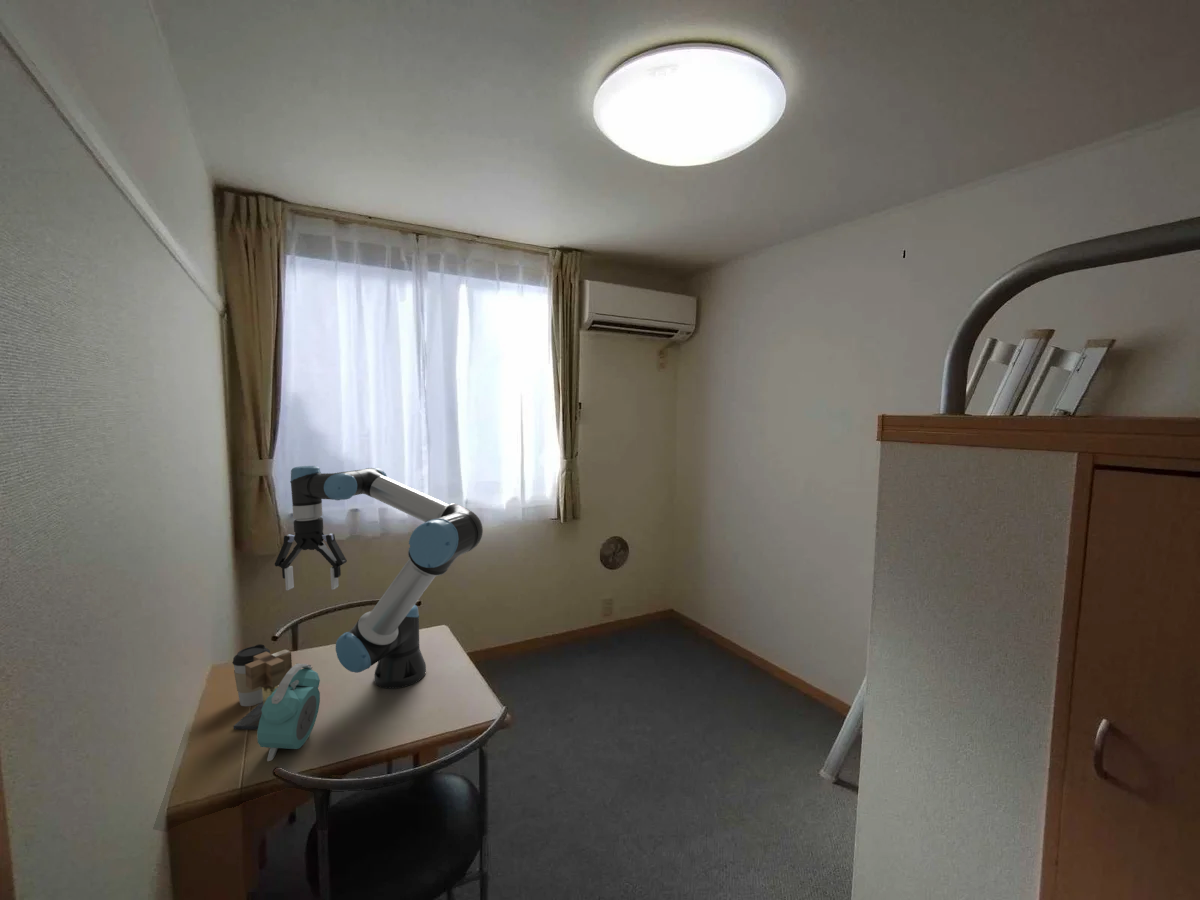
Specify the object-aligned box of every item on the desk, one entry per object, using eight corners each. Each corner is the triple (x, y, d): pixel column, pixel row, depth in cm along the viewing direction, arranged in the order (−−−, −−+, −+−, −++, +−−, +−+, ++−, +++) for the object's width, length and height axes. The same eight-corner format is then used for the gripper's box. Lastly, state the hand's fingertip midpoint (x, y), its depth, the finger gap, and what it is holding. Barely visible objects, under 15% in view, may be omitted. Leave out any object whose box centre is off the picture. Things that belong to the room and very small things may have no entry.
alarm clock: (290, 723, 133) (286, 651, 131) (327, 722, 133) (324, 650, 132) (250, 770, 115) (245, 687, 114) (293, 767, 116) (289, 685, 115)
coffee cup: (253, 710, 139) (250, 658, 137) (226, 706, 140) (223, 655, 139) (280, 692, 147) (277, 643, 146) (254, 689, 149) (252, 641, 148)
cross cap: (258, 697, 129) (256, 670, 128) (240, 686, 134) (239, 660, 133) (298, 680, 137) (297, 654, 137) (280, 670, 142) (279, 645, 142)
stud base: (306, 703, 142) (305, 672, 141) (278, 729, 130) (277, 696, 129) (264, 702, 142) (263, 672, 142) (233, 729, 130) (231, 696, 130)
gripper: (356, 514, 150) (360, 583, 151) (275, 516, 150) (279, 584, 152) (343, 520, 143) (347, 592, 144) (257, 521, 143) (262, 593, 144)
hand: (312, 588), depth 148 cm, fingers open, 13 cm apart
